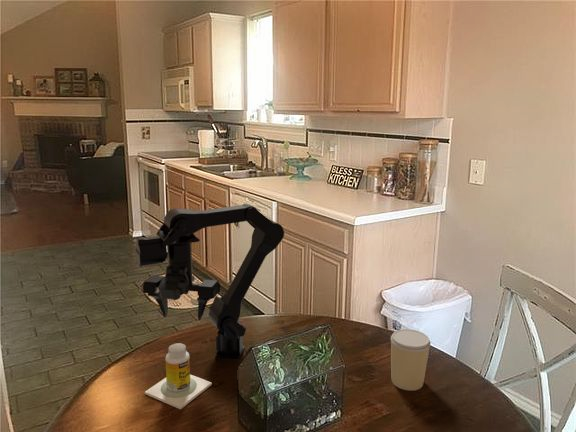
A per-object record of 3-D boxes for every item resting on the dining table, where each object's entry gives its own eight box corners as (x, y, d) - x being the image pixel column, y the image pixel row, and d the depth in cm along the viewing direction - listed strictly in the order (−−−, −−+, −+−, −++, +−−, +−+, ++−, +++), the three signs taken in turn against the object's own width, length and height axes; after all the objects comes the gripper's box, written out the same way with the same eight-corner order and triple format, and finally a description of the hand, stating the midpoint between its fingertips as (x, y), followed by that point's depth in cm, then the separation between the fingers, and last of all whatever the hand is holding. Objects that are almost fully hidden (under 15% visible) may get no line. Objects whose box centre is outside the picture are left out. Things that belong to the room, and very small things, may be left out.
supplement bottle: (180, 395, 109) (178, 355, 107) (161, 388, 112) (159, 349, 109) (195, 383, 114) (194, 345, 112) (177, 377, 116) (175, 339, 114)
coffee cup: (429, 376, 119) (433, 333, 116) (423, 396, 111) (427, 350, 108) (392, 367, 123) (395, 325, 120) (383, 386, 115) (386, 341, 112)
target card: (177, 371, 120) (177, 369, 120) (211, 384, 115) (211, 382, 115) (145, 394, 111) (144, 391, 111) (180, 409, 105) (180, 406, 105)
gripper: (129, 268, 111) (133, 329, 115) (204, 274, 108) (206, 336, 111) (150, 253, 121) (153, 309, 125) (220, 258, 118) (221, 316, 122)
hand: (182, 317), depth 121 cm, fingers open, 9 cm apart
